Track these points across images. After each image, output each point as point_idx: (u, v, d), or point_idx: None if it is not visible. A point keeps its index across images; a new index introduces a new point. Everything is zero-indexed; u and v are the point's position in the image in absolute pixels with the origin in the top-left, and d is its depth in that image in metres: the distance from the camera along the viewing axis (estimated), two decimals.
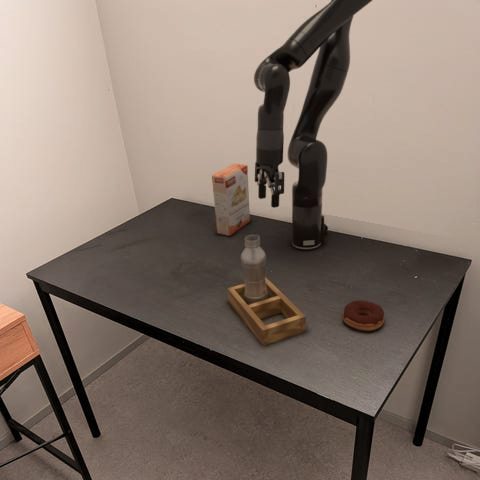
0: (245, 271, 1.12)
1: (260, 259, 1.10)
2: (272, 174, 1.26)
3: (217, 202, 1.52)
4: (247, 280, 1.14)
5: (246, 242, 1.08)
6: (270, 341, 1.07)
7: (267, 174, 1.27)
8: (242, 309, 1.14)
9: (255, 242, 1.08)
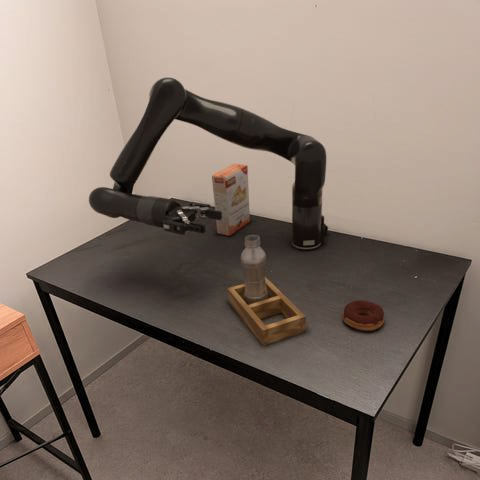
0: (245, 271, 1.12)
1: (260, 259, 1.10)
2: None
3: (217, 202, 1.52)
4: (247, 280, 1.14)
5: (246, 242, 1.08)
6: (270, 341, 1.07)
7: None
8: (242, 309, 1.14)
9: (255, 242, 1.08)
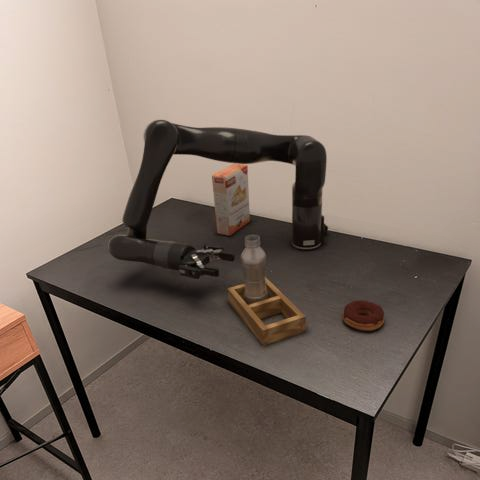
0: (245, 271, 1.12)
1: (260, 259, 1.10)
2: None
3: (217, 202, 1.52)
4: (247, 280, 1.14)
5: (246, 242, 1.08)
6: (270, 341, 1.07)
7: None
8: (242, 309, 1.14)
9: (255, 242, 1.08)
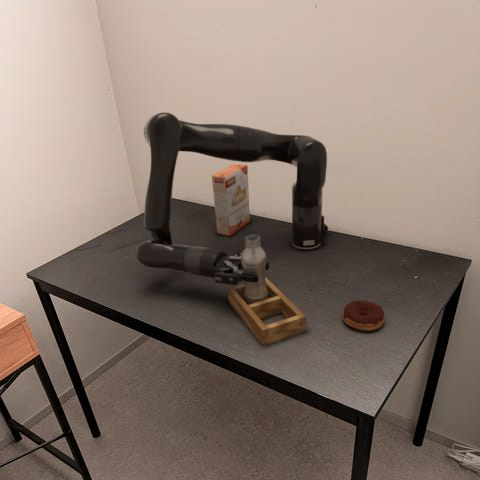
0: (245, 271, 1.12)
1: (260, 259, 1.10)
2: None
3: (217, 202, 1.52)
4: None
5: (246, 242, 1.08)
6: (270, 341, 1.07)
7: None
8: (242, 309, 1.14)
9: (255, 242, 1.08)
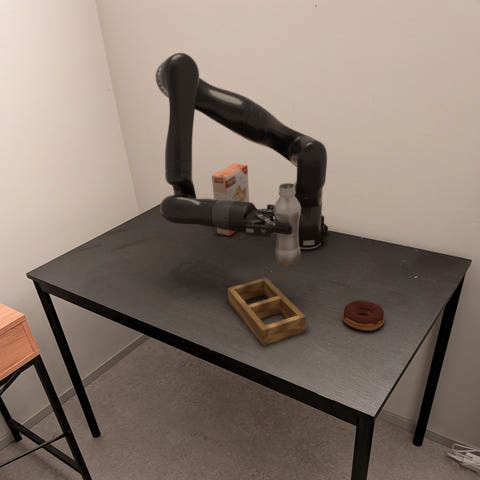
0: (278, 222, 1.06)
1: (295, 208, 1.04)
2: None
3: None
4: None
5: (281, 190, 1.02)
6: (270, 341, 1.07)
7: None
8: (242, 309, 1.14)
9: (290, 190, 1.02)
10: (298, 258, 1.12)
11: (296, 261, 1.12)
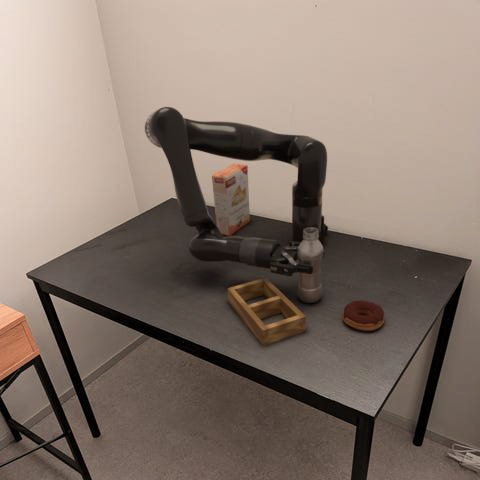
0: (302, 263, 1.13)
1: (318, 251, 1.11)
2: None
3: (217, 202, 1.52)
4: None
5: (305, 234, 1.09)
6: (270, 341, 1.07)
7: None
8: (242, 309, 1.14)
9: (314, 234, 1.09)
10: (320, 295, 1.19)
11: (318, 298, 1.19)
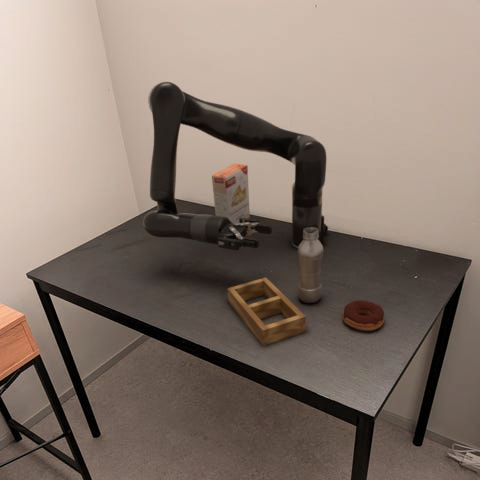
0: (302, 263, 1.13)
1: (318, 251, 1.11)
2: None
3: (217, 202, 1.52)
4: (303, 272, 1.15)
5: (305, 234, 1.09)
6: (270, 341, 1.07)
7: None
8: (242, 309, 1.14)
9: (314, 234, 1.09)
10: (320, 295, 1.19)
11: (318, 298, 1.19)
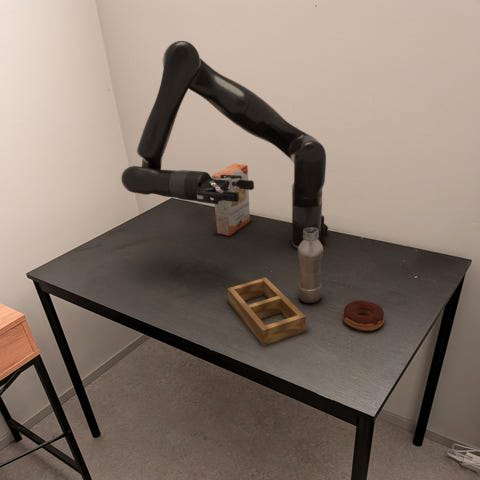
0: (302, 263, 1.13)
1: (318, 251, 1.11)
2: None
3: None
4: (303, 272, 1.15)
5: (305, 234, 1.09)
6: (270, 341, 1.07)
7: (211, 196, 1.16)
8: (242, 309, 1.14)
9: (314, 234, 1.09)
10: (320, 295, 1.19)
11: (318, 298, 1.19)
